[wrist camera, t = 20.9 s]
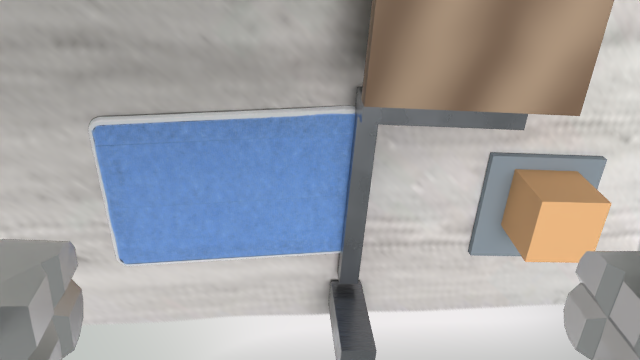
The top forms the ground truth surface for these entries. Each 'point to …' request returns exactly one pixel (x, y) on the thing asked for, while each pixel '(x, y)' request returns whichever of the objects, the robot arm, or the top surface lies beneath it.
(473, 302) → the top surface
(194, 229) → the blue flat slab
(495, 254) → the slate mat
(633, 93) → the top surface
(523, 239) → the orange block
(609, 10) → the walnut shelf
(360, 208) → the grey u-shaped bracket
